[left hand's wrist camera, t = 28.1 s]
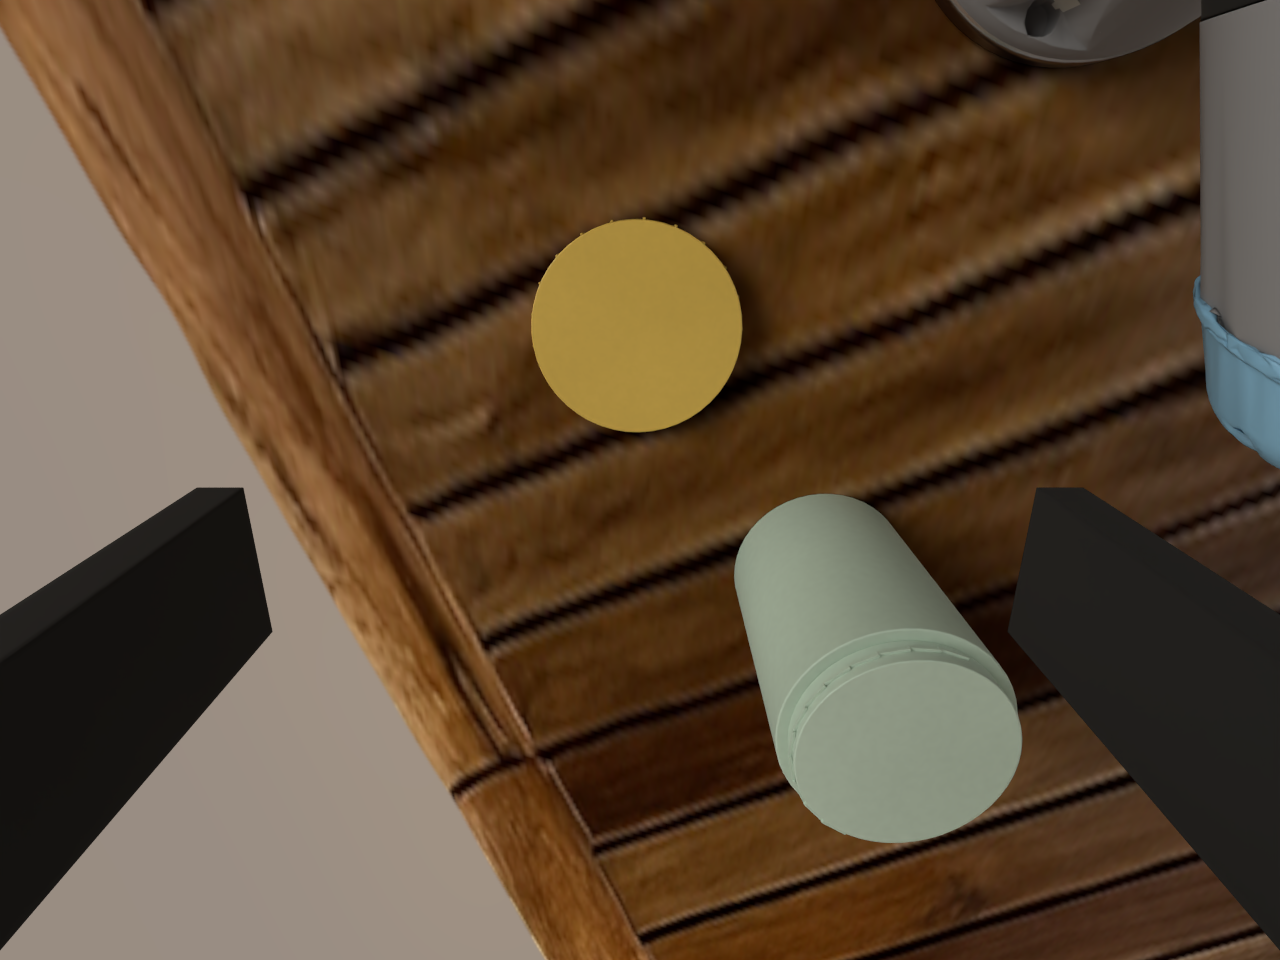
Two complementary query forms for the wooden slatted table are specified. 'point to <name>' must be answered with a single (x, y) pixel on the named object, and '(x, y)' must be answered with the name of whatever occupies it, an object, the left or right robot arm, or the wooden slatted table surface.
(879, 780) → the jar
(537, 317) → the lid
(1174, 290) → the wooden slatted table surface
